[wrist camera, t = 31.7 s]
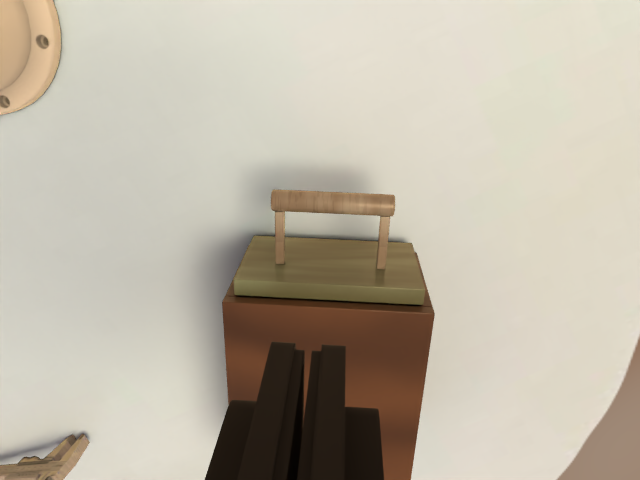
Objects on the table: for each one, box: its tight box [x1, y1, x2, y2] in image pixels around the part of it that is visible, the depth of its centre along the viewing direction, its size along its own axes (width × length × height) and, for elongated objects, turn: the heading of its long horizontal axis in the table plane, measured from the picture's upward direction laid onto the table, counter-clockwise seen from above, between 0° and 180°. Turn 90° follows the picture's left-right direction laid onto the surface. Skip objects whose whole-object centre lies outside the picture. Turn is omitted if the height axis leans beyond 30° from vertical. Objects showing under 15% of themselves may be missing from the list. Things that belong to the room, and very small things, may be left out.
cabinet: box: [222, 244, 434, 480], centre depth 39 cm, size 19×14×9 cm
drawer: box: [234, 190, 425, 306], centre depth 37 cm, size 23×12×7 cm, turn 178°
